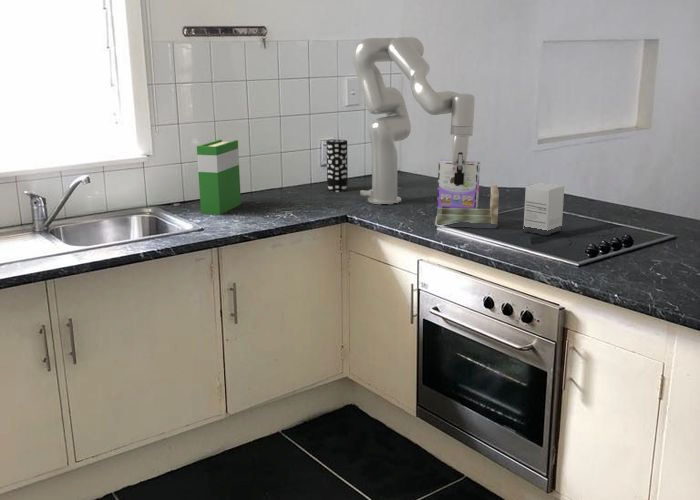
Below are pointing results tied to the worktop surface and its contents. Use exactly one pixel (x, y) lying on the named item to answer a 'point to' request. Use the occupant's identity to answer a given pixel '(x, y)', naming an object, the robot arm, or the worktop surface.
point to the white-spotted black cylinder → (337, 166)
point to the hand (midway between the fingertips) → (458, 181)
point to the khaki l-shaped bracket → (471, 212)
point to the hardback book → (218, 176)
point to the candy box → (458, 186)
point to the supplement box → (543, 206)
